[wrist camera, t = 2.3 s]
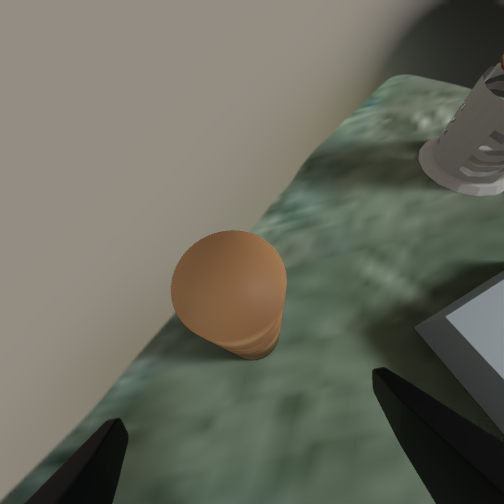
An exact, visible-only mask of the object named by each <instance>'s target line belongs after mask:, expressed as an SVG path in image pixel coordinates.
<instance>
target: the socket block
mask: <svg viewBox="0 0 504 504" xmlns="http://www.w3.org/2000/svg"><path fill="white" fill-rule="evenodd" d="M414 329H415V330H416V331H417V332H418V333H419V335H420V336H421V337H422V338H423V339H424V341H425V342H426V343H427V344H428V345H429V346H430V348H431V349H432V350H433V351H434V352H435V354H436V355H437V356H438V357H439V358H440V359H441V361H442V362H443V363H444V364H445V365H446V367H447V368H448V369H449V370H450V371H451V372H452V374H453V375H454V376H455V377H456V378H457V380H458V381H459V382H460V383H461V384H462V386H463V387H464V388H465V389H466V390H467V391H468V393H469V394H470V395H471V396H472V397H473V399H474V400H475V401H476V402H477V403H478V404H479V406H480V407H481V408H482V409H483V410H484V412H485V413H486V414H487V415H488V416H489V417H490V419H491V420H492V421H493V422H494V423H495V425H496V426H497V427H498V428H499V429H500V431H501V432H502V433H503V434H504V270H503V271H502V272H500V273H499V274H497V275H495V276H494V277H492V278H491V279H489V280H487V281H486V282H484V283H483V284H481V285H480V286H478V287H476V288H475V289H473V290H472V291H470V292H468V293H467V294H465V295H464V296H462V297H461V298H459V299H457V300H456V301H454V302H453V303H451V304H449V305H448V306H446V307H445V308H443V309H442V310H440V311H438V312H437V313H435V314H434V315H432V316H431V317H429V318H427V319H426V320H424V321H423V322H421V323H419V324H418V325H416V326H415V327H414Z"/></svg>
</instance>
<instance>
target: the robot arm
mask: <svg viewBox="0 0 504 504" xmlns="http://www.w3.org/2000/svg"><path fill="white" fill-rule="evenodd" d="M372 381H373V390H374V393H375V395H376V397H377V399H378V401H379V403H380V405H381V407H382V409H383V411H384V413H385V415H386V417H387V419H388V421H389V423H390V425H391V427H392V429H393V432H394V434H395V435H396V437H397V439H398V441H399V443H400V445H401V447H402V448H403V450H404V452H405V453H406V455H407V457H408V458H409V460H410V462H411V463H412V465H413V467H414V468H415V470H416V472H417V473H418V475H419V476H420V478H421V480H422V481H423V483H424V485H425V486H426V488H427V490H428V491H429V493H430V494H431V496H432V498H433V499H434V501H435V503H436V504H504V442H503V441H502V440H500V439H498V438H497V437H495V436H494V435H492V434H490V433H489V432H487V431H486V430H484V429H482V428H481V427H479V426H478V425H476V424H475V423H473V422H471V421H470V420H468V419H467V418H465V417H463V416H462V415H460V414H459V413H457V412H455V411H454V410H452V409H451V408H449V407H447V406H446V405H444V404H443V403H441V402H440V401H438V400H436V399H435V398H433V397H432V396H430V395H428V394H427V393H425V392H424V391H422V390H420V389H419V388H417V387H416V386H414V385H413V384H411V383H409V382H408V381H406V380H405V379H403V378H401V377H400V376H398V375H397V374H395V373H393V372H392V371H390V370H389V369H387V368H385V367H381V368H376V369H373V371H372ZM127 444H128V433H127V430H126V428H125V426H124V424H123V422H122V420H121V419H120V418H115V419H110V420H107V421H106V422H105V423H104V424H103V425H102V426H101V427H100V428H99V429H98V430H97V431H96V432H95V433H94V434H93V435H92V436H91V437H90V438H89V439H88V440H87V441H86V442H85V443H84V444H83V445H82V446H81V447H80V448H79V449H78V450H77V451H76V452H75V453H74V454H73V455H72V456H71V457H70V458H69V459H68V460H67V461H66V462H65V463H64V464H63V465H62V466H61V467H60V468H59V469H58V470H57V471H56V472H55V473H54V474H53V475H52V476H51V477H50V478H49V479H48V480H47V481H46V482H45V483H44V484H43V485H42V487H41V488H40V489H39V490H38V491H37V492H36V493H35V494H34V495H33V496H32V497H31V498H30V499H29V500H28V501H27V502H26V503H25V504H112V503H113V499H114V496H115V492H116V488H117V484H118V480H119V476H120V472H121V468H122V464H123V460H124V456H125V452H126V448H127Z"/></svg>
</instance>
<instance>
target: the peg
mask: <svg viewBox="0 0 504 504" xmlns="http://www.w3.org/2000/svg"><path fill="white" fill-rule="evenodd" d="M286 284H287V278H286V271H285V267H284V264H283V262H282V259H281V257H280V256H279V254H278V253H277V251H276V250H275V249H274V248H273V247H272V246H271V245H270V244H269V243H268V242H267V241H265V240H264V239H262V238H261V237H259V236H257V235H254V234H252V233H248V232H243V231H223V232H218V233H215V234H212V235H209V236H207V237H205V238H203V239H201V240H199V241H198V242H197V243H195V244H194V245H193V246H192V247H190V248H189V250H187V251H186V253H185V254H184V255H183V256H182V258H181V259H180V261H179V263H178V264H177V266H176V269H175V271H174V274H173V277H172V283H171V297H172V303H173V306H174V309H175V311H176V314H177V315H178V317H179V318H180V320H181V321H182V322H183V324H184V325H185V326H186V327H187V328H189V329H190V330H191V331H192V332H194V333H196V334H197V335H199V336H201V337H203V338H205V339H207V340H209V341H211V342H213V343H215V344H217V345H219V346H220V347H222V348H224V349H226V350H228V351H230V352H232V353H234V354H236V355H238V356H240V357H242V358H244V359H248V360H259V359H262V358H264V357H266V356H268V355H269V354H270V353H271V352H272V351H273V350H274V349H275V347H276V345H277V343H278V340H279V334H280V327H281V320H282V313H283V307H284V300H285V293H286Z"/></svg>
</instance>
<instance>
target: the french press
mask: <svg viewBox="0 0 504 504" xmlns="http://www.w3.org/2000/svg"><path fill="white" fill-rule="evenodd" d="M500 62H501V63H499V64H496V65H494V66H492V67H489V68H488V70H487V71H486V72H485V73H484V74H483V76H482V77H481V78H480V80H479V81H478V82H477V84H476V85H475V87H474V88H473V89H472V91H471V92H470V94H469V95H468V96H467V98H466V99H465V101H464V103H463V104H462V106H463V105H464V104H466V105H465V106H464V107H463V108H462V109H461V110H460V108H461V107H462V106H461V107H460V108H459V110H458V111H457V112H456V114H455V116H454V117H453V118H455V117H456V118H455V119H454V120H453V121H452V120H451V121H450V122H449V124H448V125H447V126H446V128H447V130H446V131H445V132H444V131H443V132H442V134H441V135H440V136H439V137H436V138H434V139H432V140H429V141H427V142H426V143H425V144H424V145H423V146H422V147H421V149H420V150H419V160H418V161H419V163H420V165H421V167H422V169H423V171H424V173H426V174H427V175H428V176H429V177H430V178H431V179H433V180H434V181H435V182H436V183H437V184H439V185H441V186H443V187H446V188H448V189H450V190H452V191H454V192H457V193H462V194H468V195H473V196H487V195H497V194H499V193H501V192H503V191H504V100H503V99H501V98H499V97H497V96H496V95H494V94H493V93H492V92H491V91H490V89H497V90H501V91H504V82H501V81H497V82H494V83H490V84H487V85H485V83H484V82H485V81H486V80H487V79H489V78H492V77H495V76H498V75H501V74H504V53H503V54H502V55H501V59H500ZM453 118H452V119H453ZM452 123H453V124H452ZM446 128H445V129H446Z"/></svg>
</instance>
